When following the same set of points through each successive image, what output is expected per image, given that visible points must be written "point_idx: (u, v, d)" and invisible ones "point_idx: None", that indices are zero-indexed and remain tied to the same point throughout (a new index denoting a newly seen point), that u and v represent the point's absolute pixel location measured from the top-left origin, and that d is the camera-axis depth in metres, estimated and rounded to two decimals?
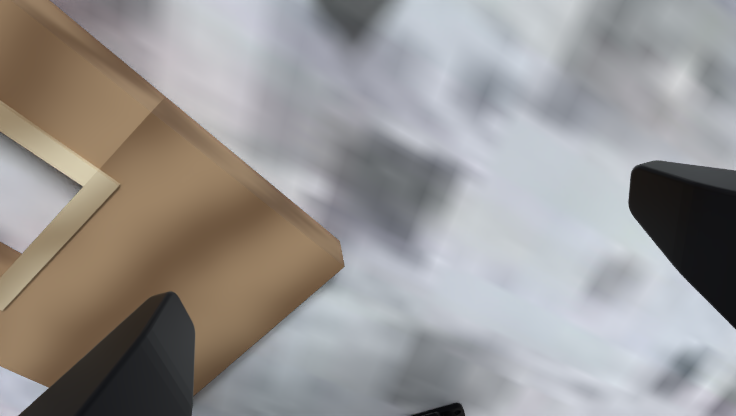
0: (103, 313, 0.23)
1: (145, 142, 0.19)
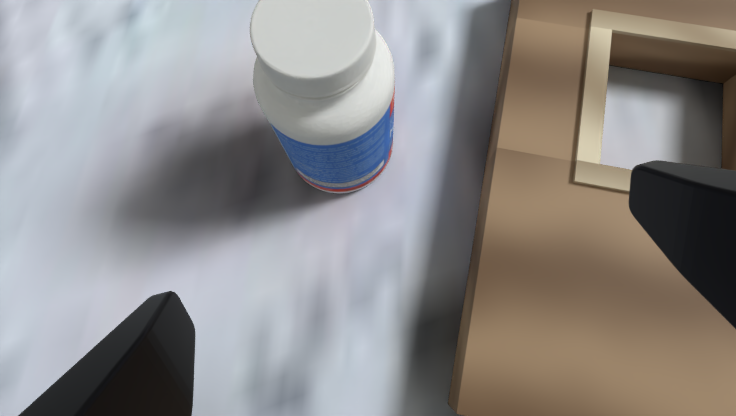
0: (624, 271, 0.19)
1: None
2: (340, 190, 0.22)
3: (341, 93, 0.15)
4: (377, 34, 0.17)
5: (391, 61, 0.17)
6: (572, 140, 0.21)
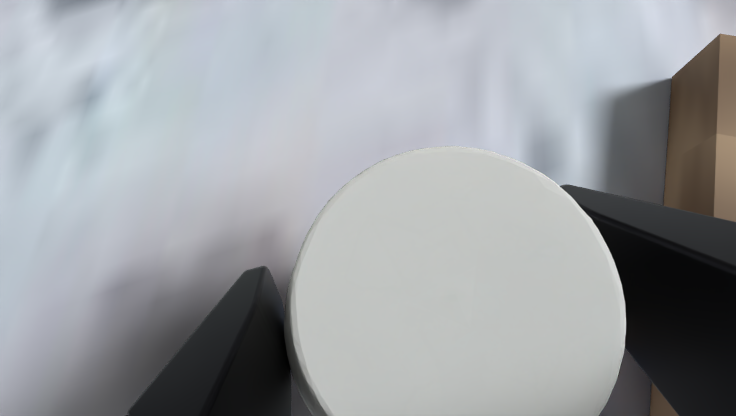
0: None
1: None
2: None
3: None
4: None
5: None
6: None
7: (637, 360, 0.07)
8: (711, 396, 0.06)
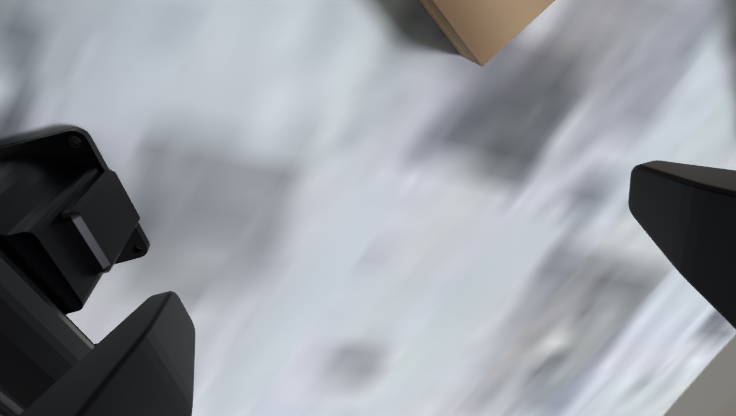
0: None
1: None
2: None
3: None
4: None
5: None
6: None
7: None
8: None
